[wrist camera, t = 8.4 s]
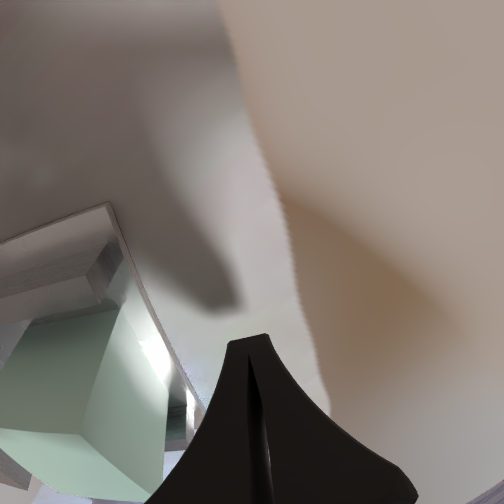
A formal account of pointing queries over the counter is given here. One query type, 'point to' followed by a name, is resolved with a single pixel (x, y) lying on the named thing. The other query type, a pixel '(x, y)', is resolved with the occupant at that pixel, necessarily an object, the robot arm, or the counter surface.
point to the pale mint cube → (85, 409)
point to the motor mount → (86, 306)
